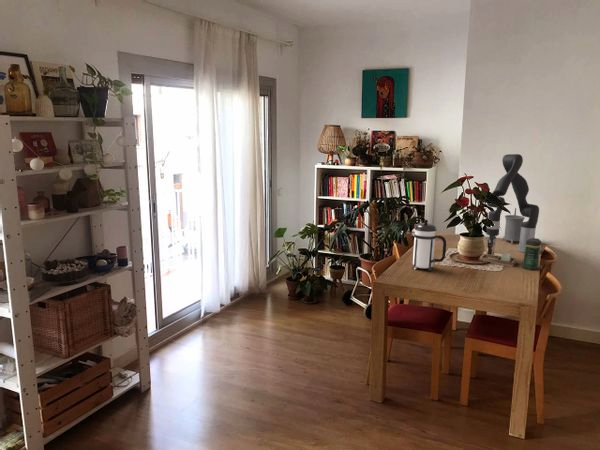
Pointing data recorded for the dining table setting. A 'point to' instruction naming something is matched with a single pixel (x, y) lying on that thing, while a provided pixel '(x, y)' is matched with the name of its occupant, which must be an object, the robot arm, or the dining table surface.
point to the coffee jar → (531, 253)
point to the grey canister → (513, 227)
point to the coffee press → (426, 246)
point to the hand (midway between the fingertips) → (490, 253)
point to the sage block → (506, 257)
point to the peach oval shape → (492, 249)
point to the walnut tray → (497, 260)
